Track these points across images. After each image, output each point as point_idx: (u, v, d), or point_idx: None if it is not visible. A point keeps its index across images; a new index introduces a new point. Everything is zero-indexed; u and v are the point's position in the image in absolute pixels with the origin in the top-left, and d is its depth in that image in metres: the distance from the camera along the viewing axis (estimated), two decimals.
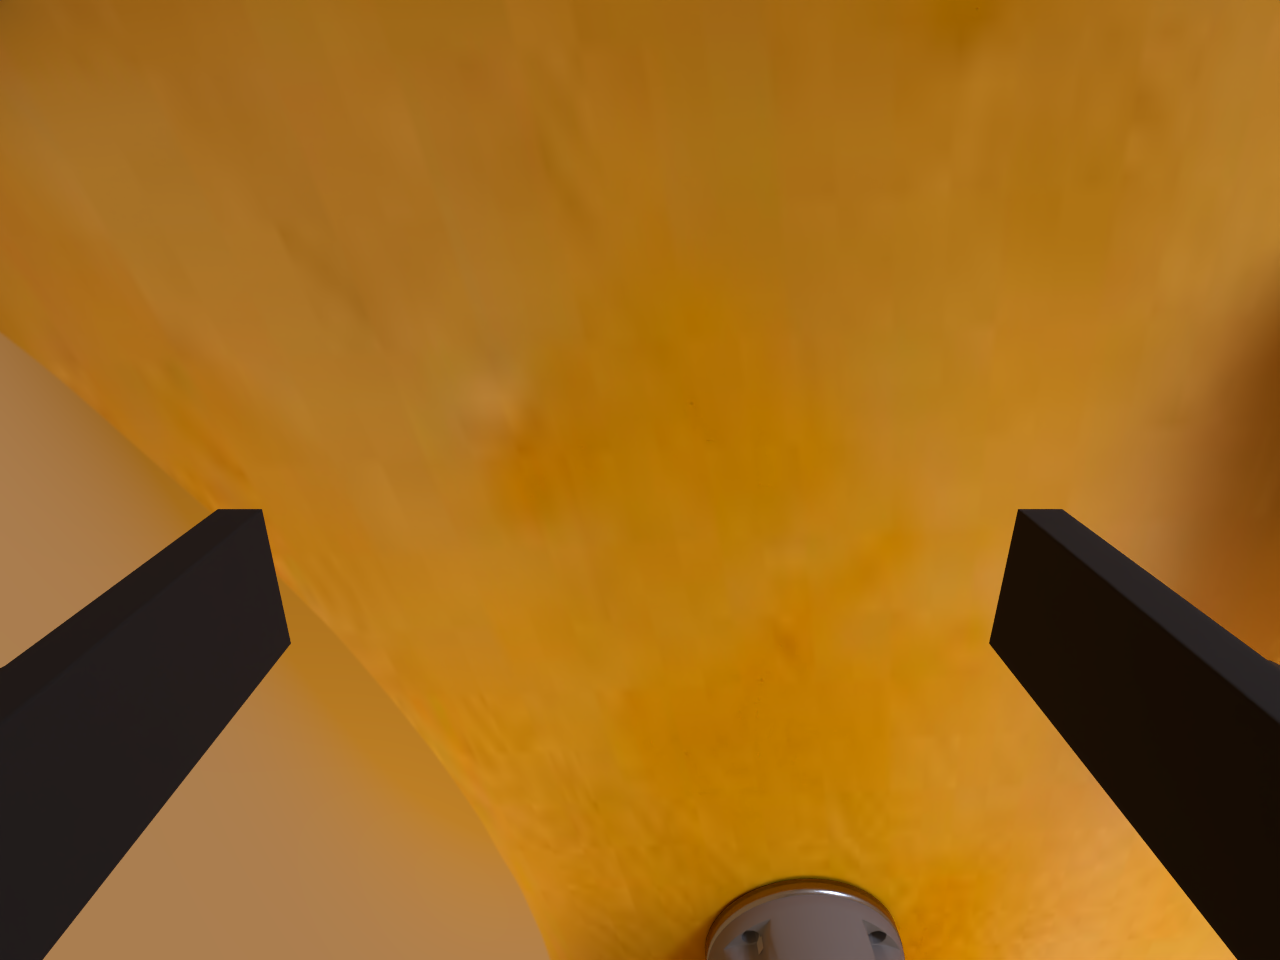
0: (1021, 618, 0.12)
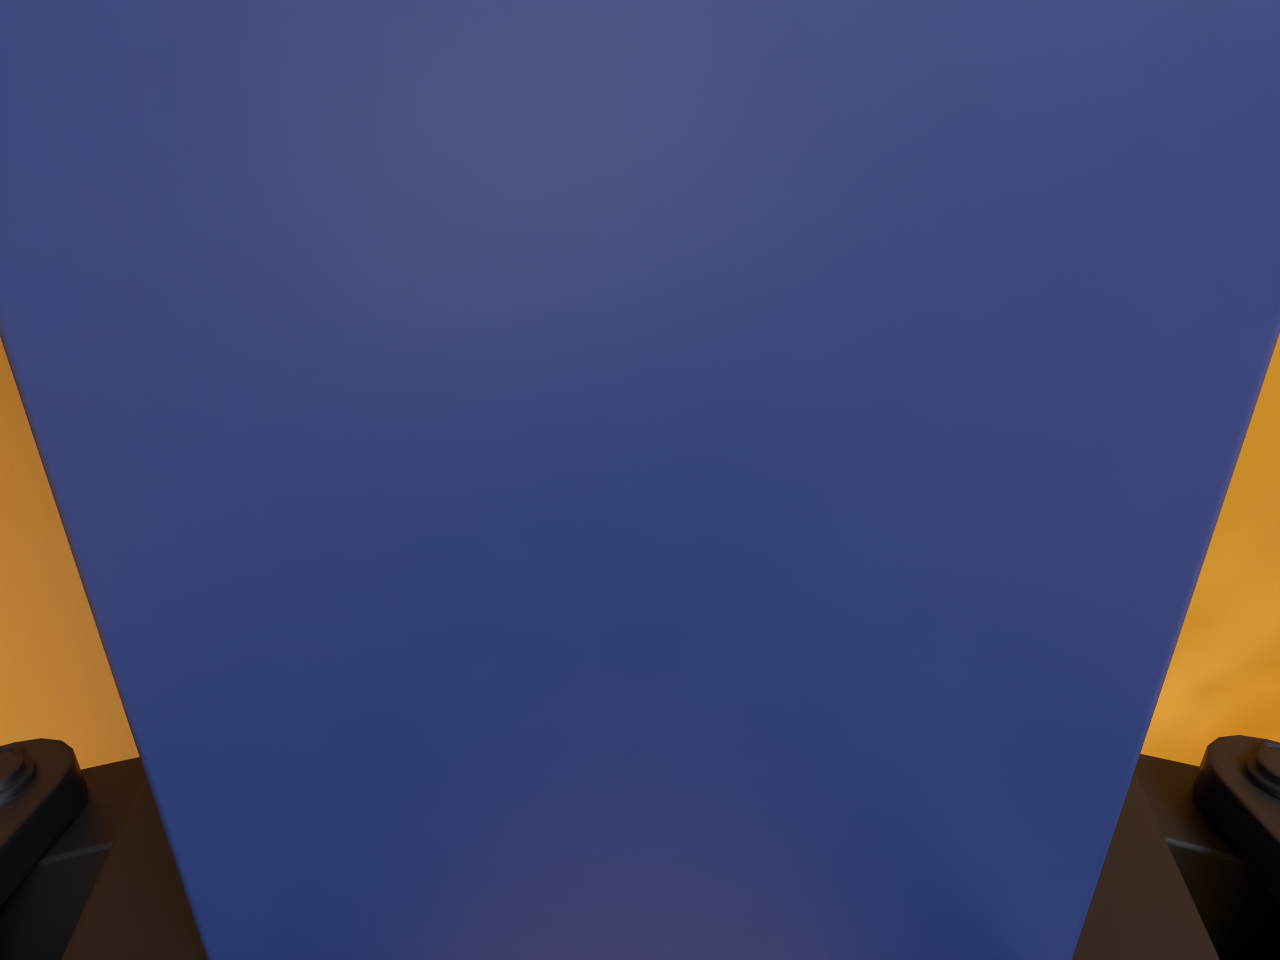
0: None
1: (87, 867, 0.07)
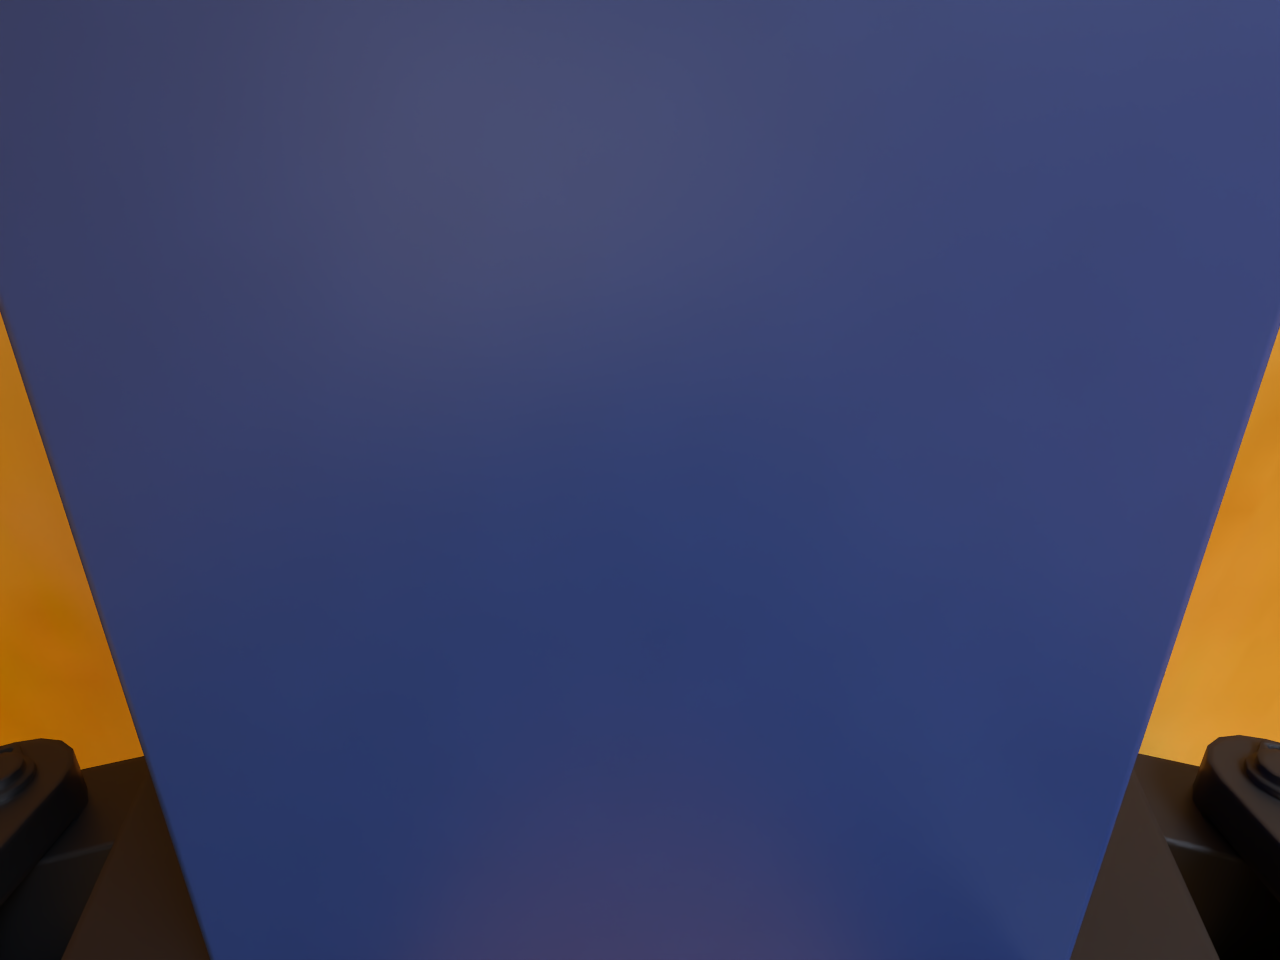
0: None
1: (87, 867, 0.07)
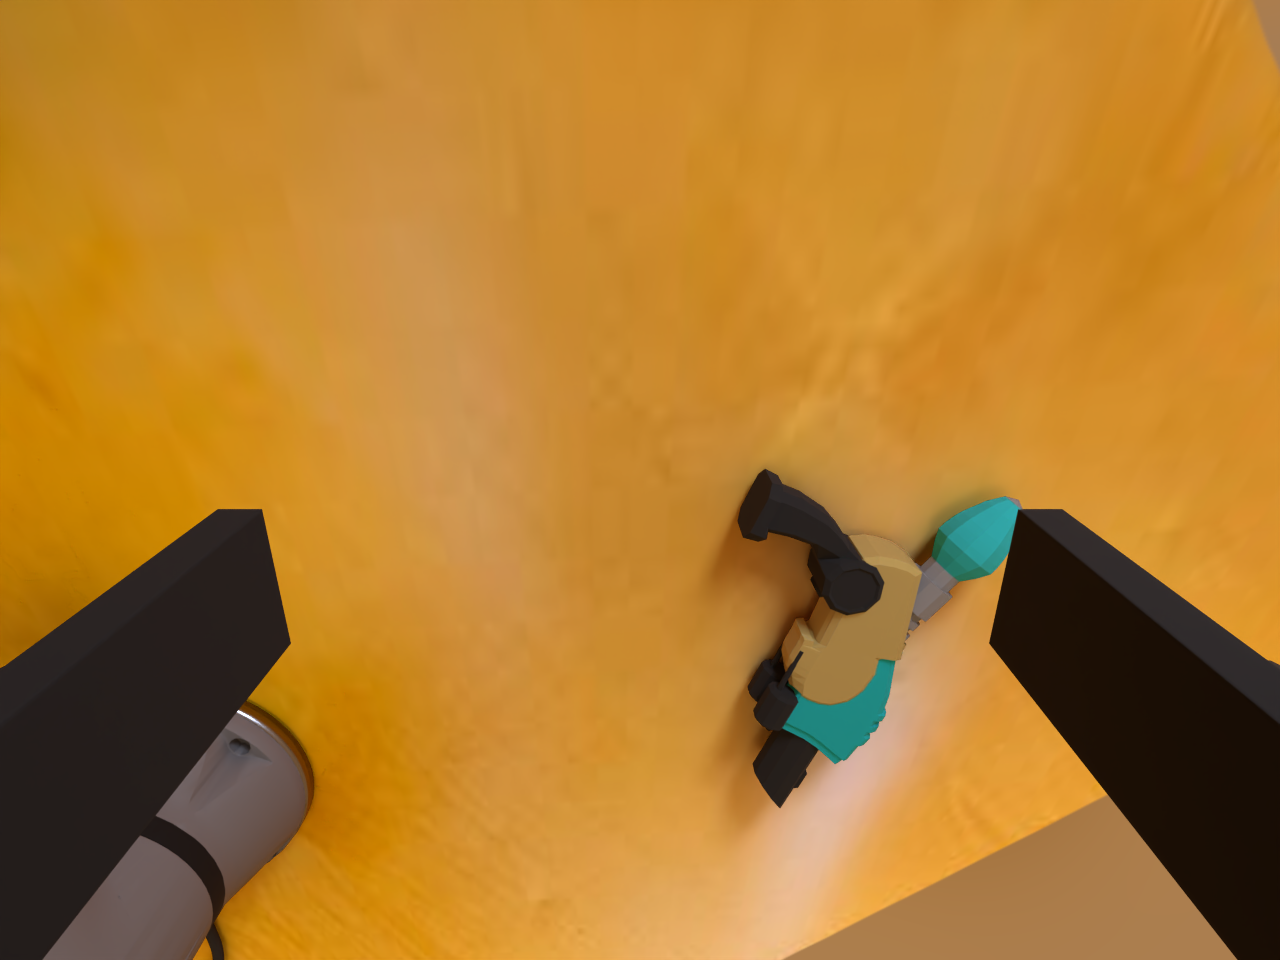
0: (1021, 618, 0.12)
1: None
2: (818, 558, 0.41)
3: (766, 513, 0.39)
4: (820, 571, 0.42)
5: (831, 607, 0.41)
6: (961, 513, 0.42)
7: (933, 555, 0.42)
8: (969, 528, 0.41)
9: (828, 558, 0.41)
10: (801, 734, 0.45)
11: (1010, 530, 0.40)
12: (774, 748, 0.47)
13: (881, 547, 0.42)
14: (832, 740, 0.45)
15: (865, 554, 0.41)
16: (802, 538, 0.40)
